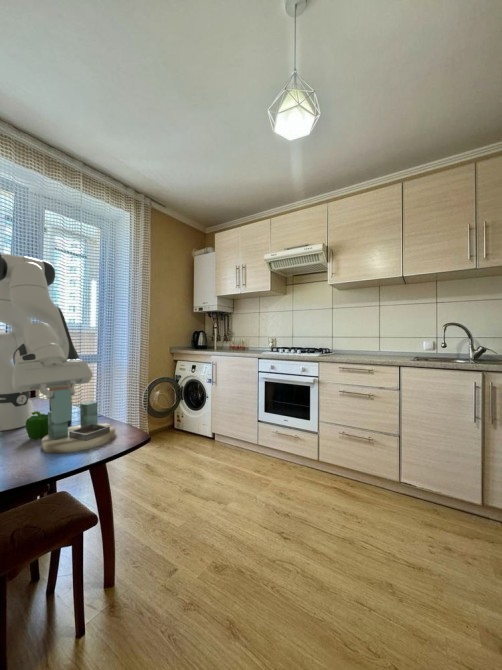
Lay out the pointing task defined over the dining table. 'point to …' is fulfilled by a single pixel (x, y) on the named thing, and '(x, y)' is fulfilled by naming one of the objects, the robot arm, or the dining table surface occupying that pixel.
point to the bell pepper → (37, 426)
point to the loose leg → (61, 406)
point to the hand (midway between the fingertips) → (61, 396)
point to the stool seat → (77, 432)
